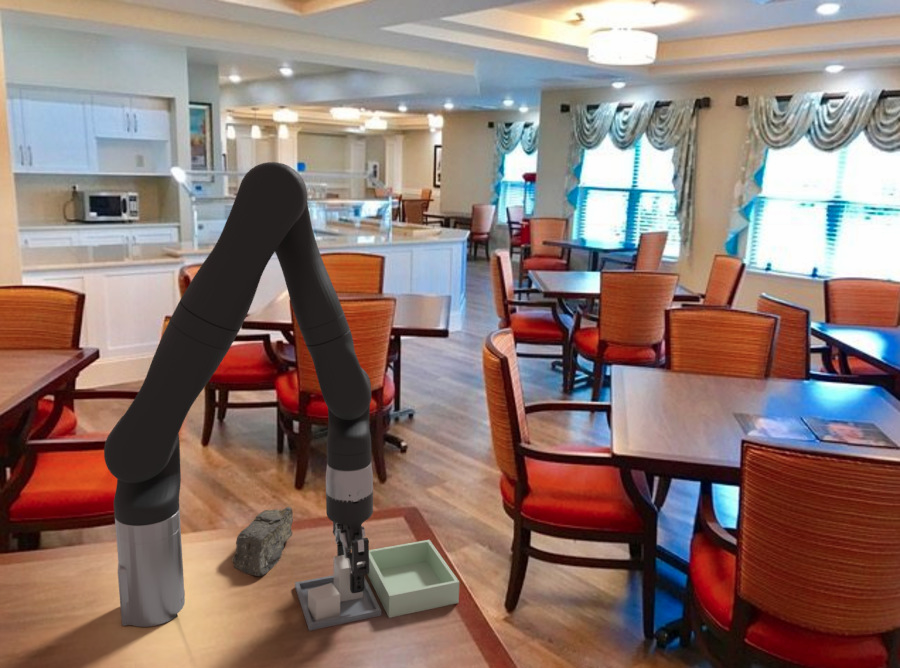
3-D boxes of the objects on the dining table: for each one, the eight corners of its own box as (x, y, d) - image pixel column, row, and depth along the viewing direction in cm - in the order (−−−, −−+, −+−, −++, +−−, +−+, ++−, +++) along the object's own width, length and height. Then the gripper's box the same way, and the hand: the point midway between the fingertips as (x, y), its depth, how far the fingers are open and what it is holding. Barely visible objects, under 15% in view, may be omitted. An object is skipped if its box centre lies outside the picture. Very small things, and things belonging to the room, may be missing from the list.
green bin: (388, 620, 113) (389, 596, 112) (365, 573, 125) (365, 550, 124) (458, 605, 117) (459, 581, 116) (428, 561, 130) (429, 539, 129)
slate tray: (309, 633, 109) (309, 625, 108) (295, 590, 120) (295, 582, 119) (381, 618, 113) (381, 610, 113) (361, 577, 124) (361, 570, 124)
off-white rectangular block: (339, 602, 116) (339, 569, 114) (333, 588, 119) (333, 556, 118) (362, 597, 117) (363, 565, 116) (356, 584, 121) (356, 552, 119)
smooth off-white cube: (316, 624, 110) (316, 601, 109) (308, 612, 113) (307, 589, 112) (340, 616, 112) (340, 594, 111) (331, 604, 115) (331, 582, 114)
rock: (243, 509, 137) (293, 498, 137) (253, 541, 138) (303, 529, 138) (219, 555, 120) (277, 541, 120) (231, 590, 121) (288, 576, 121)
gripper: (317, 473, 119) (319, 559, 123) (337, 512, 106) (338, 606, 110) (360, 466, 122) (361, 551, 126) (385, 504, 109) (384, 596, 113)
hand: (350, 577), depth 118 cm, fingers open, 8 cm apart
